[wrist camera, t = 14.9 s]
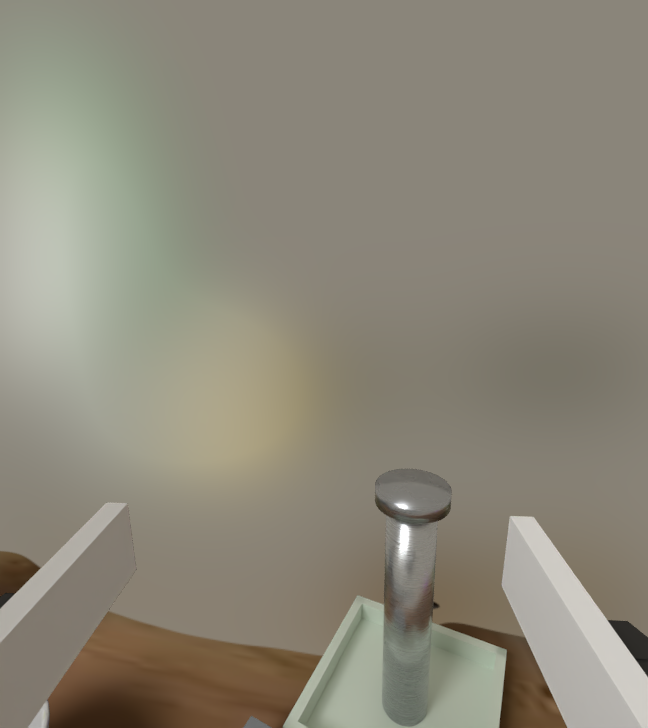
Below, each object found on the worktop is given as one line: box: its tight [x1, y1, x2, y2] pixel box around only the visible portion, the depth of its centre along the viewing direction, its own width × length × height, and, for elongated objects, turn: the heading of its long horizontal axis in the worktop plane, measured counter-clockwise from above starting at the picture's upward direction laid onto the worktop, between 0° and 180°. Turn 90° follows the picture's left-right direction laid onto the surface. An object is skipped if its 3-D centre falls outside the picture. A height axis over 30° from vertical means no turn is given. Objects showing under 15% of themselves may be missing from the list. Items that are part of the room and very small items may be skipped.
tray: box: [283, 596, 507, 728], centre depth 34 cm, size 14×14×2 cm
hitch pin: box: [375, 469, 452, 727], centre depth 31 cm, size 5×5×19 cm
